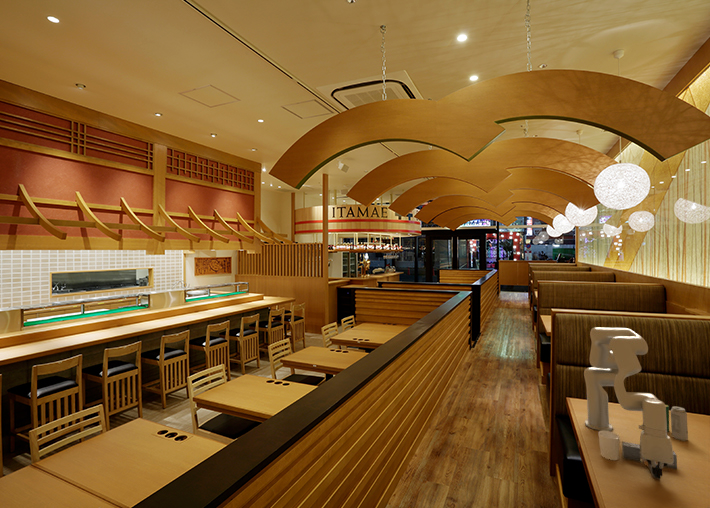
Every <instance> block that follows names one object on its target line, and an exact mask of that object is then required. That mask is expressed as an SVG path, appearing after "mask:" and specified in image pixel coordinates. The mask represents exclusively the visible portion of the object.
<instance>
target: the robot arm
mask: <svg viewBox="0 0 710 508" xmlns="http://www.w3.org/2000/svg"><path fill="white" fill-rule="evenodd" d="M589 333H590V334H589V335H590V336H589V337H590V339H591V344H590V345H591V346H590V354H589V363H590V366H591V367H587V368H585V369H584V372H583V376H584V382H585V387H586V403H587V404H586V405H587V419H585V420H584V425H585V426H586V427H587V428H590V429H592V430H595V431H598V432H599V431H610V432H612V431H613V429H614V428H613V426H614V425H612V424H610V413H609V396H608V392H607V391H606V390H605V388H604V387H613V389H614V392H615V395H616V398H617V401H618V404H619V406H620V407H621V408H623V410H625V411H630V412H631V411H632V412H642V424H641V425H639V424H638V430H639V429H640V430H641V431H640V432H641V433H640V438H639V445H640V459H641V460H642V461H643V460H645V461H647V462H648V463H649V464H650V465H651V466H652V474H654V475H655V478H654V479H656V478H659V479H658V480H661V477H662V476H663V469H664V468H666V467H665V466H667V465H674V463H673V462H674V457H673V451H674V450H673V445H672V441H671V437H670V436H669V435H668V431H667V421H666V406H665V405H666V404H665V402H664V401H662V400H660V399H659V398H658V397H657V396H656V395H654V394H653V393H650V392H639V391H638V392H634V391H633V392H632V391H631V392H630V391H626V388H625V384H624V383H625V379H626V378H627V377H630V376H633V375H635V374H638V373H639V372H641V371H642V366H641V364H640V361H639V359H638V355H639V356H640V355H641V356H643V355H644V356H645V355H646V354H647V353H648V351H649V346H648V343H647V341H646V340H645V338H644V337H642V336H641V335H640V334H639V333H636V332H635V331H634V330H632V329H631V328H627V327H602V326H601V327H600V326H599V327H598V326H597V327H596V326H594V327H592V328H591V330H590V332H589ZM655 461H657V466H656V464H655ZM652 474H651V475H652Z"/></svg>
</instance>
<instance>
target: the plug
mask: <svg viewBox="0 0 710 508" xmlns="http://www.w3.org/2000/svg"><path fill="white" fill-rule="evenodd" d="M642 461H643V464H645V465H644V466H646V465H647V467H648V469H649V472H650V473H651V475H652V478H653V479H657V480H660V479H659V478H655V475H654V474H652V466H651V465H650V464H649V463H648V462H647V461H645V460H642ZM655 464H656V466H657V464H658V462H657V461H655Z"/></svg>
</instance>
